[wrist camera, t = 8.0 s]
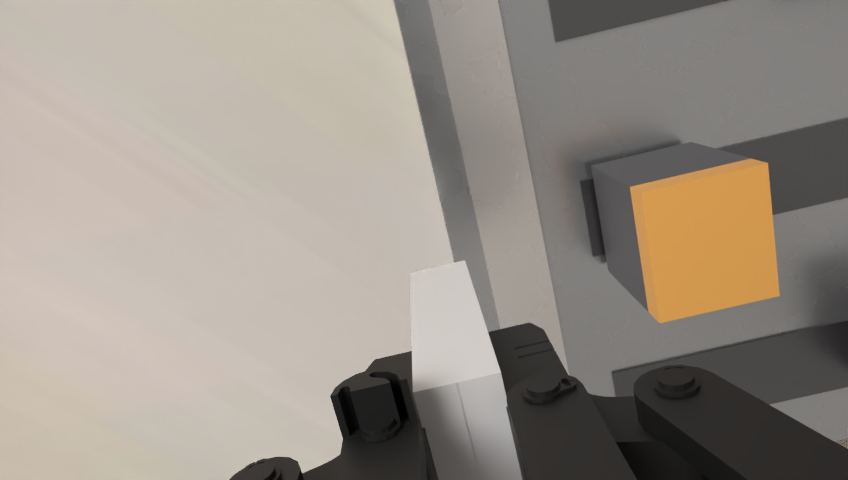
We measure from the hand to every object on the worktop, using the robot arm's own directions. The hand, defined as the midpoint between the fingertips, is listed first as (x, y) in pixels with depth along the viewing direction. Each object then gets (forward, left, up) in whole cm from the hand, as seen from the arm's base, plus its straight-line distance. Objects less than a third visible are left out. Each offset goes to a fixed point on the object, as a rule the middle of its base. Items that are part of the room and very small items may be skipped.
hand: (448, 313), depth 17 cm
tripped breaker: (0, +7, -4) cm, 8 cm away
